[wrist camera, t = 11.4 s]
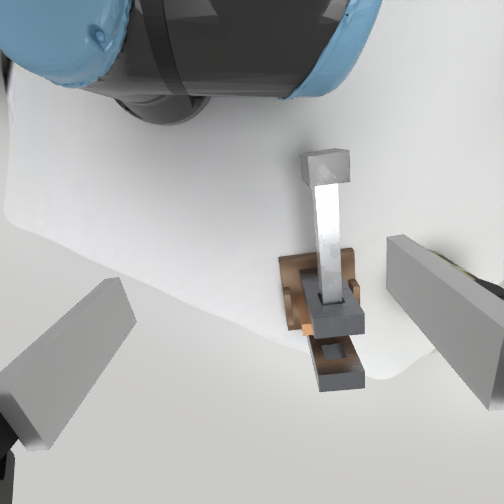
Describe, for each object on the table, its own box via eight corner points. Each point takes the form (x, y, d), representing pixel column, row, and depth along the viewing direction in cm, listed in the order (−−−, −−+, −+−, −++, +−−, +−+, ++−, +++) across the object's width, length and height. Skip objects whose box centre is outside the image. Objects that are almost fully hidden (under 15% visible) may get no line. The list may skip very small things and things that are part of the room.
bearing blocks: (298, 269, 45) (313, 318, 33) (335, 264, 45) (364, 313, 32) (305, 328, 50) (319, 392, 37) (338, 325, 49) (364, 388, 37)
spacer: (295, 295, 47) (301, 324, 40) (342, 288, 46) (357, 316, 39) (296, 305, 48) (303, 335, 41) (343, 298, 47) (358, 328, 40)
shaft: (299, 154, 32) (307, 156, 27) (334, 148, 32) (349, 150, 27) (312, 295, 40) (320, 320, 34) (340, 292, 39) (353, 317, 34)
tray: (278, 257, 46) (280, 267, 43) (351, 247, 45) (359, 257, 41) (287, 325, 51) (289, 339, 48) (353, 318, 50) (360, 332, 47)
